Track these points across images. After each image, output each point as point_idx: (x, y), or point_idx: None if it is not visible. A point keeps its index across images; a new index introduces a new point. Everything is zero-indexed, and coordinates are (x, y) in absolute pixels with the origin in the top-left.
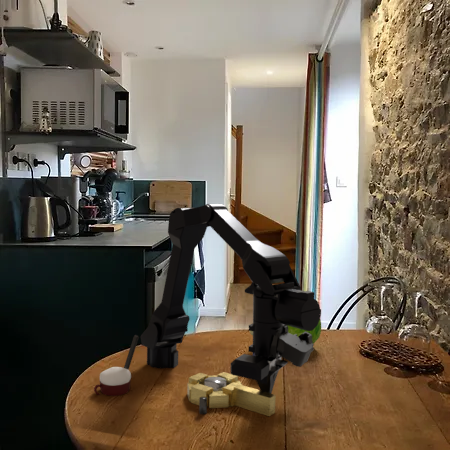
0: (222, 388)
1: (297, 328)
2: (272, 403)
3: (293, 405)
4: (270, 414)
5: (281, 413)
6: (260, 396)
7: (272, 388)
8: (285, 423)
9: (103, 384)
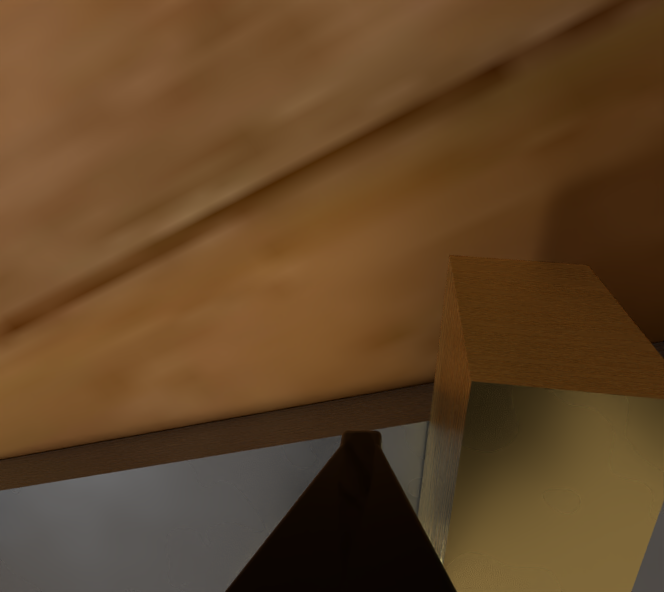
0: None
1: None
2: (554, 325)
3: (6, 225)
4: (563, 269)
5: (250, 241)
6: (627, 548)
7: (309, 517)
8: (453, 88)
9: None
